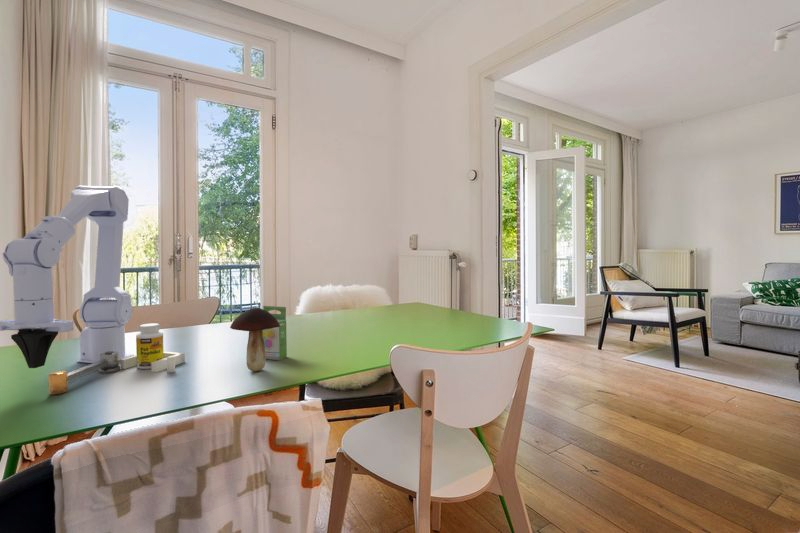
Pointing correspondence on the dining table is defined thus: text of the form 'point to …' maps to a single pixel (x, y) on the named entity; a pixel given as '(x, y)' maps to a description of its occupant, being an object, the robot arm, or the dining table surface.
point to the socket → (155, 365)
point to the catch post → (171, 364)
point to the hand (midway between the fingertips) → (36, 366)
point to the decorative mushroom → (255, 334)
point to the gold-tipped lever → (81, 372)
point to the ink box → (276, 336)
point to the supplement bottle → (149, 345)
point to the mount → (109, 370)
